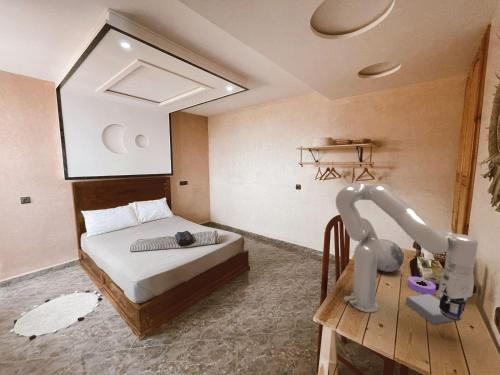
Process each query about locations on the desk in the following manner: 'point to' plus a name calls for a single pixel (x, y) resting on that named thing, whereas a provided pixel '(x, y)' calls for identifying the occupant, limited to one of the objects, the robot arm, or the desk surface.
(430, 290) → the masking tape
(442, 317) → the podium
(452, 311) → the pill bottle
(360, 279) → the robot arm
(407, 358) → the desk surface
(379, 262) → the moon model
